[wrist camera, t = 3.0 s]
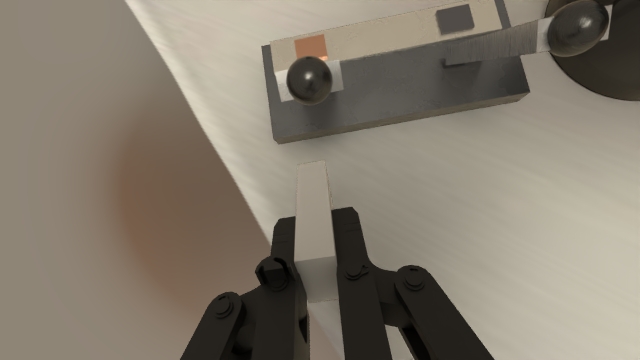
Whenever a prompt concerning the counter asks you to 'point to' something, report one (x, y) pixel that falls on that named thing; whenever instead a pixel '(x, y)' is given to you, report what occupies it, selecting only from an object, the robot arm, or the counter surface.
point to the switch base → (395, 71)
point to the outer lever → (309, 80)
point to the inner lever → (540, 35)
